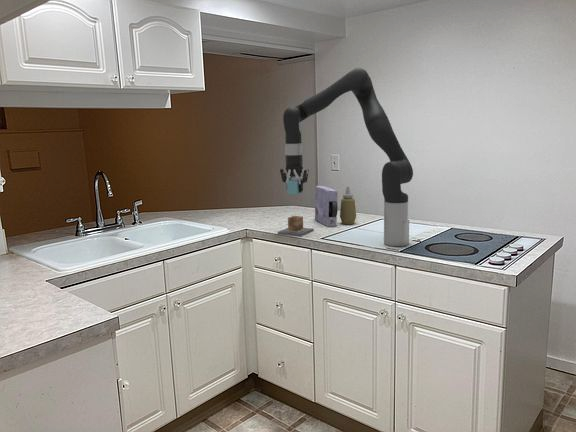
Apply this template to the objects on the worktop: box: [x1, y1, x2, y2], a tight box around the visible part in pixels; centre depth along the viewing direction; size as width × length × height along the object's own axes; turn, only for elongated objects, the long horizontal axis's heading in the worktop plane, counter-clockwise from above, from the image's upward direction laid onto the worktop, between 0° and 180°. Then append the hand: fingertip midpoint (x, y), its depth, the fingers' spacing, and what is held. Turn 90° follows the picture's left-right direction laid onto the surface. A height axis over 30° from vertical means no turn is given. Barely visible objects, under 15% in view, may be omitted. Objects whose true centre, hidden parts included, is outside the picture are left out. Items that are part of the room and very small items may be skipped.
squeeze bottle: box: [339, 186, 357, 225], centre depth 226 cm, size 8×8×18 cm
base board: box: [277, 227, 315, 238], centre depth 212 cm, size 12×12×1 cm
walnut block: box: [287, 215, 304, 232], centre depth 211 cm, size 5×5×6 cm
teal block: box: [286, 178, 304, 195], centre depth 208 cm, size 5×5×6 cm
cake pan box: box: [314, 185, 339, 228], centre depth 228 cm, size 19×5×18 cm, turn 18°
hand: (294, 191), depth 209 cm, fingers closed on teal block, 5 cm apart
